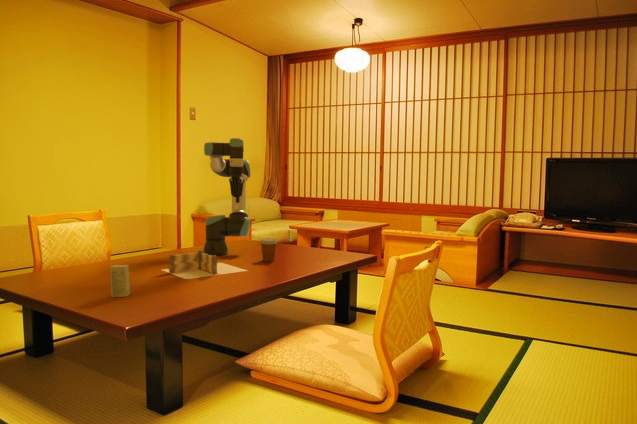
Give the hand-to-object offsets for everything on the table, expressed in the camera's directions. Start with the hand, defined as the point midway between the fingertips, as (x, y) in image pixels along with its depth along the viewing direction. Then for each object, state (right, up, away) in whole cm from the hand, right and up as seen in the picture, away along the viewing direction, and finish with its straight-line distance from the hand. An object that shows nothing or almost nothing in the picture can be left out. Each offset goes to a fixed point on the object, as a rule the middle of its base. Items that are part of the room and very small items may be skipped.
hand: (236, 208), depth 280 cm
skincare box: (-33, -36, -80) cm, 94 cm away
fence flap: (-9, -31, -32) cm, 45 cm away
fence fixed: (-20, -31, -30) cm, 48 cm away
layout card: (-12, -32, -28) cm, 44 cm away
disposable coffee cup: (+17, -30, +4) cm, 35 cm away
